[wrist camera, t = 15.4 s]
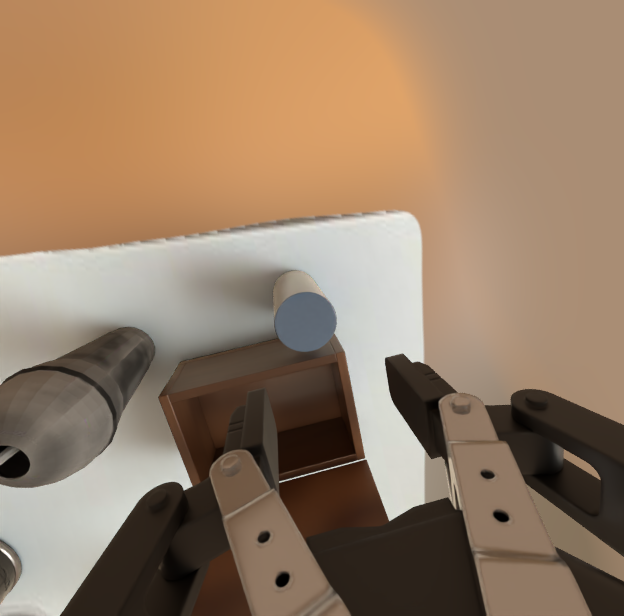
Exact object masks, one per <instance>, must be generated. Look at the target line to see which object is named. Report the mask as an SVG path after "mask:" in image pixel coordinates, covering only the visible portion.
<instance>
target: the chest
mask: <svg viewBox="0 0 624 616" xmlns="http://www.w3.org/2000/svg"><path fill="white" fill-rule="evenodd" d="M261 388H266V391H267V394H268V397H269V401H270V405H271V408H272V412H273V415H274V419H275V423H276V428H277V440H278V469H279V481H282V480H286V479H290V478H294V477H297V476H301V475H305V474H308V473H312V472H316V471H320V470H323V469H327V468H331V467H334V466H338V465H342V464H346V463H349V462H353V461H356V460H360V459H364V458H365V454H364V449H363V444H362V439H361V434H360V428H359V423H358V418H357V413H356V408H355V402H354V397H353V392H352V387H351V382H350V377H349V371H348V366H347V361H346V356H345V351H344V350H343V348H342V346H341V344H340V343H339V341H338V339H337V337H336V336H335V334H333V336H332V338H331V339H330V340H329V341H328V342H327V343H326V344H325V345H324V346H322V347H321V348H319V349H317V350H314V351H309V352H300V351H295V350H292V349H290V348H288V347H287V346H285V345H284V344H283V343H282V342H281V341H280V339H279V338H278V339H274V340H270V341H266V342H262V343H257V344H253V345H249V346H245V347H241V348H237V349H232V350H228V351H224V352H220V353H216V354H212V355H207V356H203V357H199V358H195V359H191V360H187V361H182V362H180V363H179V365H178V367H177V368H176V370H175V371H174V373H173V375H172V376H171V378H170V379H169V381H168V382H167V384H166V386H165V387H164V389H163V390H162V392H161V394H160V395H159V397H158V398H159V401H160V403H161V406H162V409H163V411H164V414H165V416H166V419H167V421H168V424H169V426H170V429H171V432H172V434H173V437H174V439H175V442H176V444H177V447H178V450H179V452H180V455H181V457H182V460H183V462H184V465H185V467H186V470H187V473H188V475H189V478H190V480H191V483H192V485H193V486H194V485H196V484H198V483H200V482H202V481H204V480H205V479H207V478H208V477H209V471H210V468H211V466H212V465H213V463H214V462H215V461H216V460H217V459H218V458H219V457H221V456H222V455H223V451H224V446H225V441H226V436H227V433H228V426H229V421H230V416H231V414H232V413H233V412H234V410H235V409H236V408H237V407H238V406H242V405H246V400H247V393H248V392H249V391H253V390H257V389H261Z"/></svg>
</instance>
